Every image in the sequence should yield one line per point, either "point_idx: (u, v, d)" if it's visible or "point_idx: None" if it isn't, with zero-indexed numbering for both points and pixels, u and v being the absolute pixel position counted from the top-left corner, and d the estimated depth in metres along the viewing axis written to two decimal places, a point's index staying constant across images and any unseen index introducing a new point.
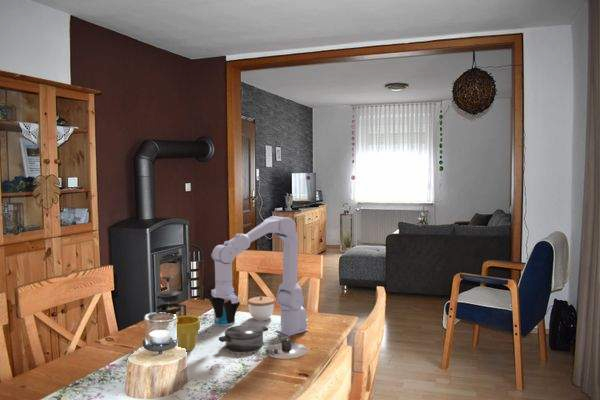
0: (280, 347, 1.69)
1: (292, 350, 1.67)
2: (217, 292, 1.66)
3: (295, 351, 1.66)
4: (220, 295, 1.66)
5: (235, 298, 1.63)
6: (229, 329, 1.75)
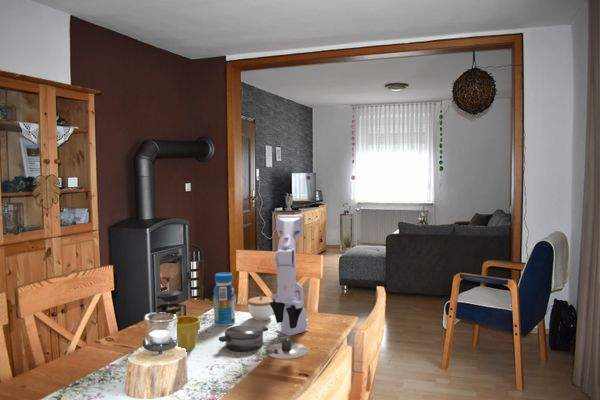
0: (280, 347, 1.69)
1: (292, 350, 1.67)
2: (280, 297, 1.64)
3: (295, 351, 1.66)
4: (283, 300, 1.63)
5: (299, 303, 1.60)
6: (229, 329, 1.75)
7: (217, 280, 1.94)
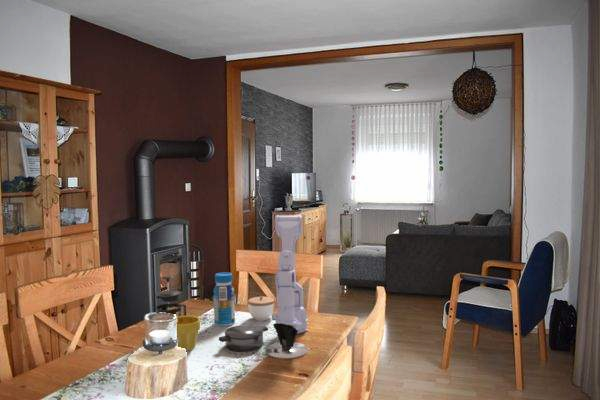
0: (280, 346, 1.69)
1: (292, 349, 1.67)
2: (280, 318, 1.64)
3: (295, 350, 1.65)
4: (283, 321, 1.64)
5: (299, 324, 1.61)
6: (229, 329, 1.75)
7: (217, 280, 1.94)
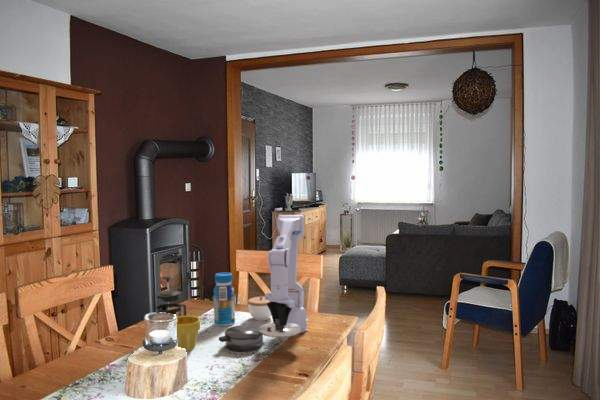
0: (273, 326, 1.70)
1: (285, 328, 1.67)
2: (273, 296, 1.65)
3: (288, 329, 1.66)
4: (276, 299, 1.64)
5: (293, 302, 1.61)
6: (229, 329, 1.75)
7: (217, 280, 1.94)
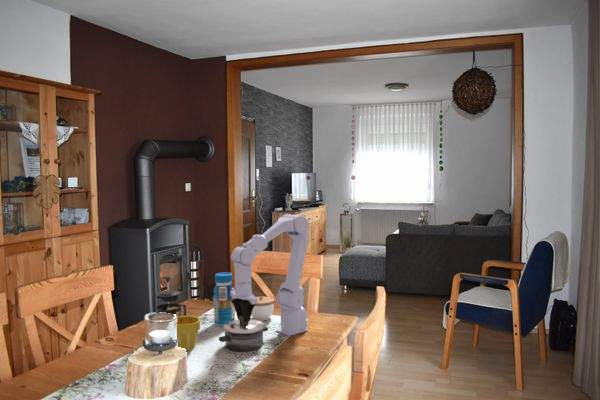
0: (239, 323, 1.75)
1: (249, 325, 1.72)
2: (237, 293, 1.70)
3: (251, 326, 1.71)
4: (240, 296, 1.69)
5: (255, 299, 1.67)
6: None
7: (217, 280, 1.94)
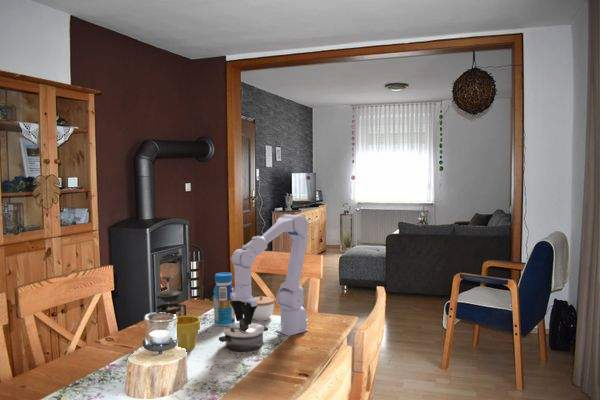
0: (239, 326, 1.75)
1: (249, 329, 1.72)
2: (237, 295, 1.70)
3: (251, 330, 1.71)
4: (240, 298, 1.69)
5: (255, 301, 1.67)
6: None
7: (217, 280, 1.94)
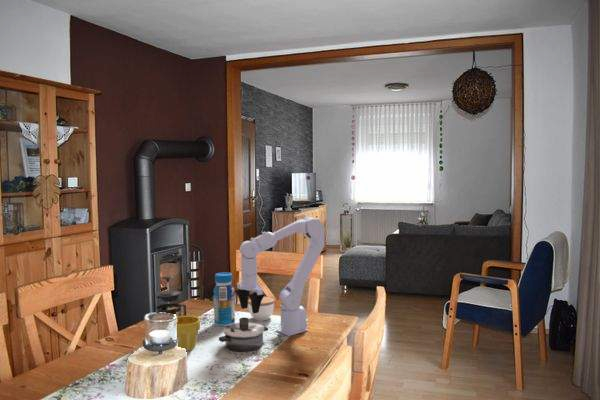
0: (239, 326, 1.75)
1: (249, 329, 1.72)
2: (243, 285, 1.80)
3: (251, 330, 1.71)
4: (246, 287, 1.79)
5: (260, 290, 1.76)
6: None
7: (217, 280, 1.94)
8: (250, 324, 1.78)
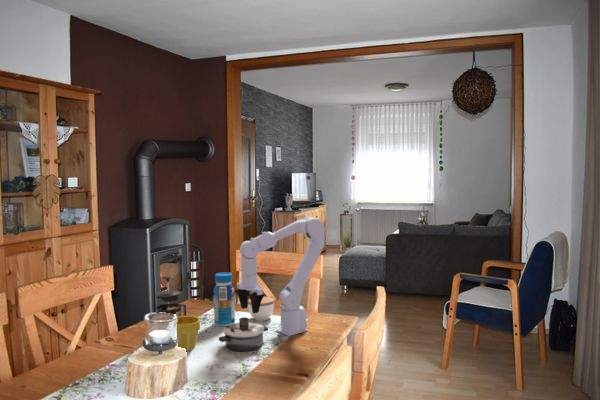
0: (239, 326, 1.75)
1: (249, 329, 1.72)
2: (243, 284, 1.80)
3: (251, 330, 1.71)
4: (246, 287, 1.79)
5: (260, 290, 1.76)
6: None
7: (217, 280, 1.94)
8: (250, 324, 1.78)
